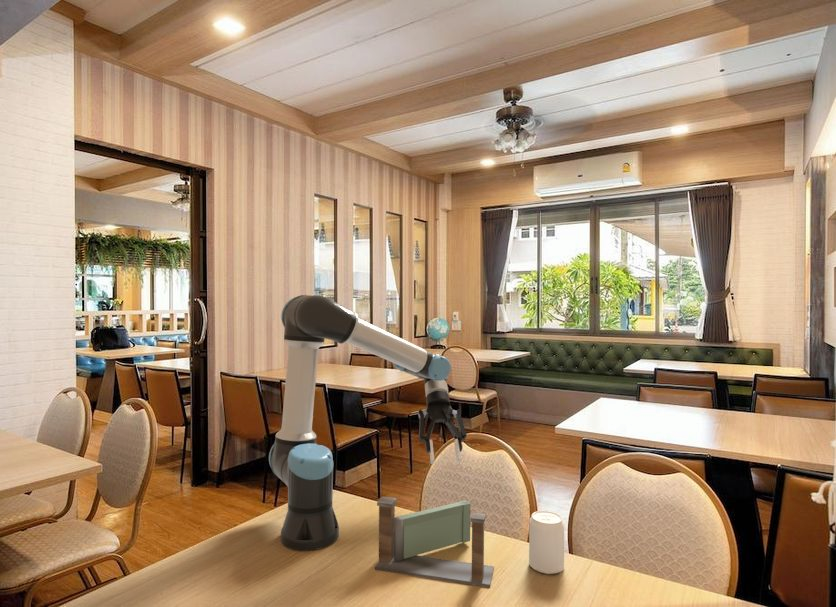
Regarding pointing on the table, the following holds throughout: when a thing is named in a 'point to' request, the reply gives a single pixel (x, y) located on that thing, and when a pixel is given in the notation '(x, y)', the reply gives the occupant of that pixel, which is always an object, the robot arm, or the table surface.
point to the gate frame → (427, 565)
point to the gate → (431, 529)
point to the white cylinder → (546, 542)
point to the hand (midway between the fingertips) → (445, 461)
